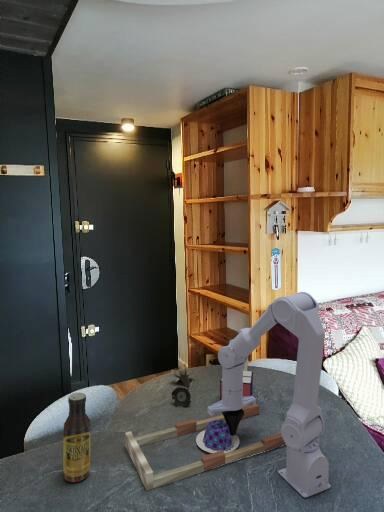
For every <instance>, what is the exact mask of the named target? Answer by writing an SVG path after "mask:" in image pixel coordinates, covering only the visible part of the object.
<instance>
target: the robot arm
mask: <svg viewBox="0 0 384 512" xmlns="http://www.w3.org/2000/svg"><path fill="white" fill-rule="evenodd" d="M319 309H320V304H319V303H318V301H317V300H316V299H315V298H314V297H313V296H312V295H311V293H308V292H305V291H299V292H297V293H295V294H290V295H286V296H280V297H277V298H275V299H274V301H273V302H272V303H270V304H268V306H267V309H266V310H265V311H264V312H263V313H262V314H261V316H260V317H259V318H258V319H257V320H256V321H255V323H253V325H252V326H251V327H245V328H244V327H243V328H240V329H239V330H238V331H237V333H238V334H237V335H236V336H235V337H234V338H233V339H230V340H229V342H228V343H229V344H228V345H226V346H225V345H224V346H221V347H220V348H219V350H218V352H217V359H218V362H219V364H220V365H221V377H222V400H221V401H220V400H219V401H217V402H215V403H213V404H210V405H208V406H207V414H208V415H209V416H210V417H215V415H216V414H217V415H218V414H220V413H222V414H221V415H223V416H224V418H225V421H226V423H227V424H228V426H229V430H230V434H231V436H234V435H237V431H238V427H239V425H240V422H241V420H243V419H242V417H243V416H244V411H243V410H242V408H243V407H245V406H248V405H253V406H254V405H256V403H257V398H255V397H254V395H252V396H248V397H243V369H244V364H245V362H246V361H247V359H248V360H249V355H251V354H252V353H253V352H254V351H255V350H256V349H257V348H258V347H259V346H260V344H261V342H262V341H261V337H263V335H266V333H267V332H269V331H270V330H271V329H272V328H273V327H275V325H277V324H278V323H279V324H280V325H281V326H282V327H284V328H285V329H286V330H288V332H290V333H292V334H293V335H294V336H295V337H296V338H297V339H298V347H297V355H296V366H295V367H296V368H295V378H294V387H293V398H292V404H291V406H290V407H289V409H288V410H287V413H286V415H285V418H284V419H285V421H284V422H283V423H282V425H281V426H280V433H281V435H282V438H283V440H284V442H285V443H286V453H285V454H286V460H285V461H286V462H285V466H286V467H285V468H281V469H278V471H277V472H278V474H279V475H280V476H281V477H282V478H283V479H284V480H285V481H286V482H287V483H288V484H289V485H290V486H291V487H292V488H293V489H294V490H295V491H296V492H297V493H299V494H300V495H301V497H302V498H304V499H306V498H309V497H311V496H313V495H316V494H318V493H321V492H323V491H326V490H329V489H330V488H332V487H331V484H330V483H329V471H330V462H329V460H328V458H327V457H326V456H325V455H324V454H323V452H322V451H321V449H320V446H319V445H320V442H319V441H320V436H321V435H322V434H323V433H324V431H325V429H326V428H325V421H324V418H323V409H322V408H321V407H320V406H319V405H318V400H319V392H320V384H321V383H320V382H321V381H320V380H321V375H322V373H321V372H322V366H323V365H322V364H323V357H324V356H323V354H324V349H325V347H324V346H325V337H326V334H325V333H326V332H325V329H324V325H323V322H322V320H321V316H320V313H319V311H320V310H319Z"/></svg>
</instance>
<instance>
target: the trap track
mask: <svg viewBox="0 0 384 512" xmlns="http://www.w3.org/2000/svg"><path fill="white" fill-rule="evenodd" d="M242 410H243V411H244V416H243V417H242V419H241V420H243V418H244V419H248V418H250V416H251V417H254V415H255V416H258V415H257V414H260V405H259V404H258V403H257V402H256V405H254V406H253V405H248V406H245V407H243V408H242ZM247 417H248V418H247ZM214 420H222V421H224V422H225V423H226V421H225V418H224V416H223V414H219V415H216V416H211V417H209V418H205V419H200V420H196V419H195V418H192V419H188V420H184V421H180V422H176V423H175V424H174V427H170V428H166V429H162V430H157V431H154V432H150V433H146V434H142V435H139V436H134V435H133V434H134V433H132V430H131V431H126V432H125V433H124V439H125V441H124V442H125V448H126V450H127V453H128V455H129V457H130V459H131V461H132V463H133V466H134V468H135V470H136V469H137V470H136V471H137V474H138V475H139V477H140V480H141V482H142V484H143V486H144V488H145V490H146V491H150V490H153V489H157V488H159V487H162V486H165V485H168V484H172V483H174V482H178V481H182V480H184V479H187V478H190V477H194V476H196V475H195V474H197V475H199V473H200V474H202V473H201V472H203V473H205V472H204V471H206V472H208V471H207V470H209V469H212V468H214V467H217V466H220V465H222V464H225V463H228V462H231V461H234V460H237V459H240V458H244V457H247V456H251V455H253V454H257V453H260V452H264V451H267V450H270V449H273V448H276V447H279V446H282V445H285V444H286V443H285V442H284V440H283V438H282V435H281V432H277V433H275V434H272V435H268V436H265V437H262V438H260V442H258V443H253V444H249V445H248V446H244V447H241V448H238V449H237V448H236V449H235V450H233V451H231V452H227V453H224V452H223V451H218V452H215V453H209V454H205V455H202V456H200V460H198V461H196V462H192V463H189V464H185V465H183V466H179V467H176V468H172V469H169V470H166V471H163V472H159V473H155V474H154V471H153V469H152V467H151V465H150V464H149V461H148V460H147V458H146V457H145V456H146V455H144V453H143V450H142V449H141V448H140V447H143V446H147V445H151V444H154V443H158V442H163V441H165V440H170V439H173V438H177V437H181V436H184V435H188V434H191V433H195V432H200V431H204V430H206V427H207V425H208V423H209V422H210V421H214ZM264 453H265V452H264ZM212 470H213V469H212ZM209 471H210V470H209ZM193 475H194V476H193Z"/></svg>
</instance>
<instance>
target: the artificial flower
mask: <svg viewBox="0 0 384 512" xmlns="http://www.w3.org/2000/svg"><path fill="white" fill-rule="evenodd" d="M183 367H184V370H183V369H181V368H179V369H178V373H177V371H176V370H175V369H171V371H170V372H171V373H172V374H173V376H174V377H175V378H177V380H176V381H175V383H177V382H179V381H181V382H182V384H183V385H184V386H185V387H181V386H178V387H176V388H175V389H173V391H171V394H170V395H171V399H172V404H173V405H174V406H175V407H176V408H178V407H182V408H185V407H187V406H190V405H191V402H192V400H191V393H190V391H189V389H190V380H189V377H190V375H192V374H193V373H194V372H195V370H192V371H191V372H190V373H188V367H187V366H186V363H184V364H183ZM187 373H188V374H187ZM173 400H174V402H173Z"/></svg>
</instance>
